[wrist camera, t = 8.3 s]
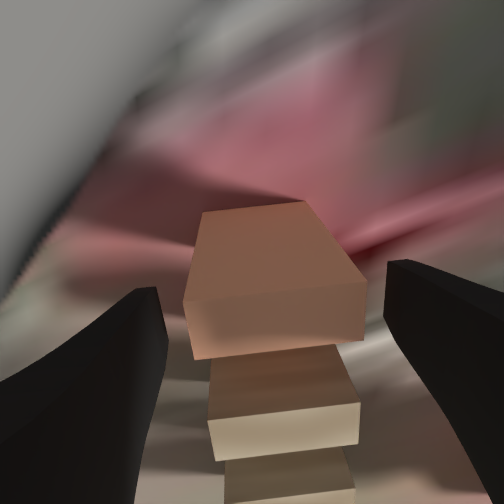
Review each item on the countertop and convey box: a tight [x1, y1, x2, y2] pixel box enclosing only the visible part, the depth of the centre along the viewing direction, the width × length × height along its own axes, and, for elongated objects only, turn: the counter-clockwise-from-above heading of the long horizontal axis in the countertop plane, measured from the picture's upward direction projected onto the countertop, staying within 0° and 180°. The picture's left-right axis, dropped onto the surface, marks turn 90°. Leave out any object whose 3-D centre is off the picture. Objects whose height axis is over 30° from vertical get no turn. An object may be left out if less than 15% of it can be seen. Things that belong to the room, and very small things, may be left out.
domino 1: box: [183, 201, 367, 360], centre depth 13 cm, size 2×5×8 cm, turn 95°
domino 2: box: [207, 344, 361, 461], centre depth 15 cm, size 2×5×8 cm, turn 95°
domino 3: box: [224, 446, 355, 504], centre depth 17 cm, size 2×5×8 cm, turn 95°
